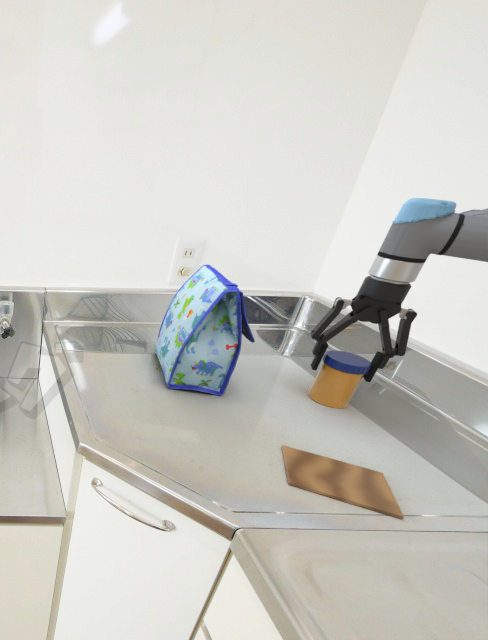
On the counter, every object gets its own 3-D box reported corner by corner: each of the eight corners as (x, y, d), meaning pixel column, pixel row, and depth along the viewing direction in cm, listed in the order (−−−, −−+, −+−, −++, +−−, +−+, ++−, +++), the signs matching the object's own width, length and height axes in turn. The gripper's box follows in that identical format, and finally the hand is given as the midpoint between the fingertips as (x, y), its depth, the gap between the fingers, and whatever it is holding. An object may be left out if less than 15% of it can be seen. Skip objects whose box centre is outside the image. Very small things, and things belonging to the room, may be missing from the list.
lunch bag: (236, 399, 99) (279, 292, 87) (163, 390, 101) (195, 284, 89) (208, 358, 118) (240, 265, 106) (148, 351, 120) (171, 259, 108)
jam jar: (343, 396, 103) (363, 357, 98) (350, 411, 97) (373, 371, 92) (305, 387, 106) (324, 349, 101) (310, 402, 100) (330, 362, 95)
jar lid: (362, 362, 99) (366, 355, 98) (372, 378, 92) (376, 370, 91) (319, 354, 102) (322, 347, 101) (326, 368, 95) (329, 360, 94)
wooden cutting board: (381, 475, 78) (382, 472, 77) (402, 519, 68) (404, 516, 68) (281, 447, 84) (282, 444, 83) (288, 484, 74) (289, 482, 74)
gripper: (451, 284, 86) (393, 379, 97) (322, 266, 94) (282, 355, 105) (468, 294, 80) (404, 394, 91) (328, 273, 88) (286, 367, 99)
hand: (339, 373), depth 98 cm, fingers open, 10 cm apart
